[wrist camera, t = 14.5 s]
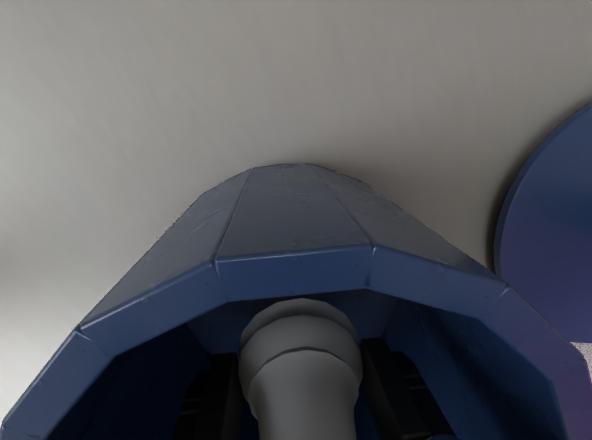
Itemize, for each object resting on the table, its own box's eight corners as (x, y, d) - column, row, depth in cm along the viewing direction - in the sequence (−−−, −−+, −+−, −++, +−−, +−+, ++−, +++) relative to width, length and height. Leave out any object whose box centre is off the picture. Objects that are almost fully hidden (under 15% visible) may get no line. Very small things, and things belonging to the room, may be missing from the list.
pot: (415, 153, 15) (681, 216, 5) (405, 370, 18) (545, 636, 9) (139, 175, 14) (-140, 292, 5) (188, 394, 18) (93, 705, 8)
